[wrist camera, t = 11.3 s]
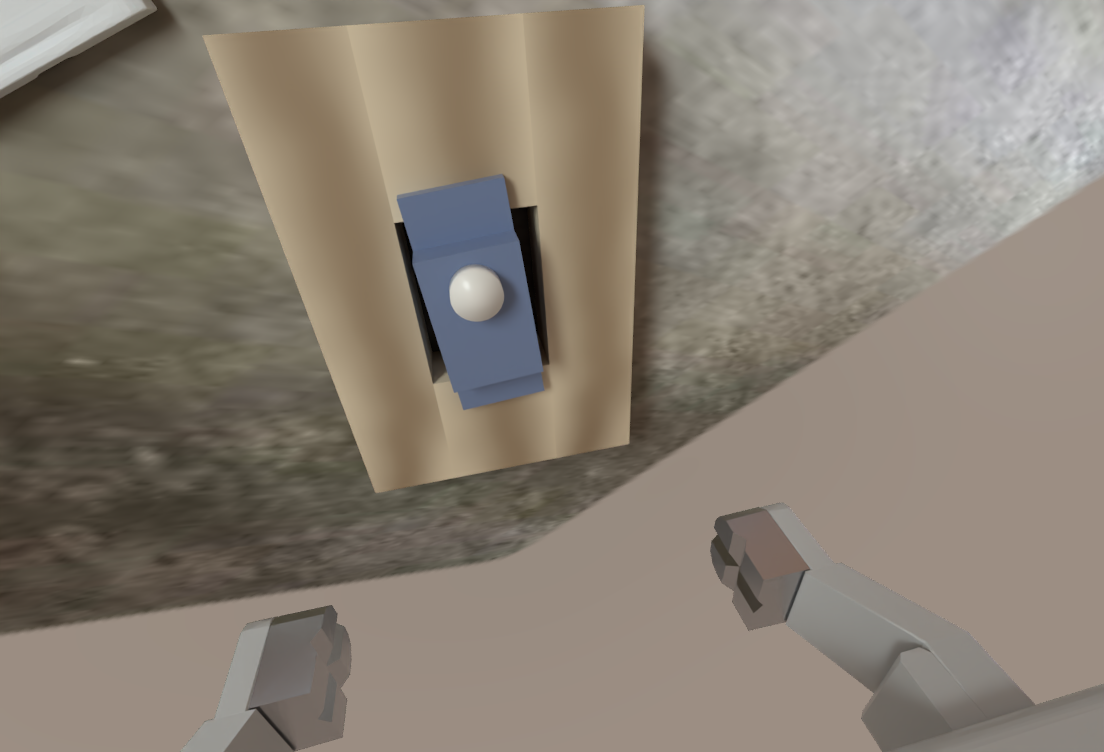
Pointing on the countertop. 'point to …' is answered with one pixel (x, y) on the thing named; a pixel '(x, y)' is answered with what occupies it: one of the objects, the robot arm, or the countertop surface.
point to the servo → (475, 288)
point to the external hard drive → (56, 32)
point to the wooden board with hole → (441, 159)
